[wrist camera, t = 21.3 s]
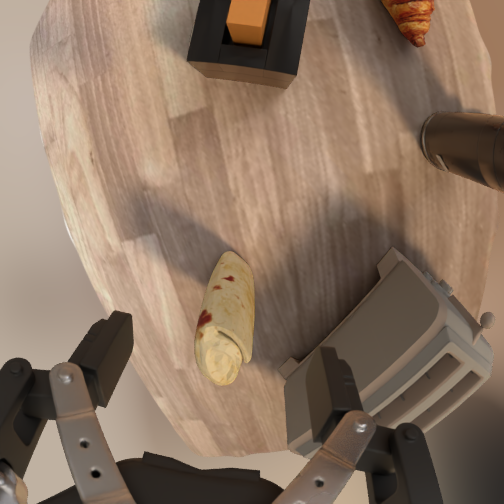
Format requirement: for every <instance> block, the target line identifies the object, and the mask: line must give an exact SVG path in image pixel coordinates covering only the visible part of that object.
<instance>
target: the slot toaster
mask: <svg viewBox="0 0 504 504" xmlns="http://www.w3.org/2000/svg"><path fill="white" fill-rule="evenodd" d="M230 4H231V0H200V3H199V7H198V11H197V15H196V19H195V24H193V28H192V32H191V37H190V47H189V51H188V56H187V62H189V63H190V64H191V65H192V66H194V67H195V68H196V69H197V70H199V71H200V72H201V73H202V74H203V75H204V76H206V77H207V78H217V79H226V80H234V81H241V82H248V83H255V84H261V85H267V86H273V87H278V88H283V89H287V88H288V86H289V85H290V84H291V82H292V81H293V80H294V78H295V77H296V75H297V71H298V65H299V60H300V54H301V49H302V43H303V38H304V32H305V27H306V21H307V15H308V10H309V4H310V0H272V4H271V9H270V14H269V18H268V23H267V28H266V33H265V38H264V42H263V47H262V49H258V48H251V47H243V46H235V45H234V43H233V40H232V37H231V35H230V32H229V29H228V26H227V23H226V21H227V17H228V12H229V8H230Z"/></svg>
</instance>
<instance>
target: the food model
mask: <svg viewBox="0 0 504 504" xmlns="http://www.w3.org/2000/svg"><path fill="white" fill-rule="evenodd" d="M254 318H255V299H254V278H253V274H252V272H251V269H250V267H249V265H248V264H247V263H246V262H245V261H244V260H243V259H242V258H241V257H239V256H238V255H237V254H235V253H234V252H231V251H228V252H225V253H224V254H223V255H222V256H221V258H220V259H219V261H218V263H217V265H216V267H215V269H214V271H213V273H212V275H211V277H210V280H209V283H208V286H207V289H206V292H205V296H204V299H203V303H202V307H201V311H200V315H199V320H198V324H197V329H196V334H195V340H194V351H195V358H196V363H197V365H198V367H199V369H200V371H201V373H202V374H203V375H204V376H205V377H207V378H208V379H209V380H210V381H211V382H213V383H214V384H217V385H220V386H224V385H228V384H230V383H232V382H233V381H234V379H235V378H236V376H237V374H238V371H239V368H240V365H241V363H242V360H243V358H244V362H245V363H248V362H249V361H250V359H251V355H252V347H253V331H254Z"/></svg>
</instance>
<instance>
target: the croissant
mask: <svg viewBox="0 0 504 504" xmlns="http://www.w3.org/2000/svg"><path fill="white" fill-rule="evenodd" d="M381 1H382V3H383V5H384V6H385V7H386V9H387V10H388V11H389V13H390V15H391V16H392V18H393V19H394V21H395V23H396V24H397V25H398V28H399V30H400V32H401V33H402V34H403V35H404V36H405V37H406V38H407V39H408V40H409V41H410V42H411V43H412V44H413V45H414V46H416V47H421V46H424V45H425V41H424V35H425V34H426V33H427V32H428V30H429V28H430V22H429V21H430V20H431V19H430V14H432V12H433V10H435V8H434V0H381Z"/></svg>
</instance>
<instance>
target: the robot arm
mask: <svg viewBox="0 0 504 504" xmlns="http://www.w3.org/2000/svg"><path fill="white" fill-rule="evenodd" d="M421 144H422V149H423V152H424V154H425V156H426V158H427V160H428V161H429V162H430V163H431V164H432V165H433V166H434V167H436V168H438V169H440V170H443V171H446V172H451V173H453V174H456V175H459V176H462V177H464V178H467V179H470V180H472V181H475V182H477V183H480V184H483V185H485V186H487V187H490V188H492V189H495V190H497V191H500V192H502V193H504V116H498V115H491V114H481V113H463V112H454V113H453V112H436V113H434V114H432V115H431V116H430V117H429V118H428V119H427V120H426V122H425V123H424V126H423V128H422V133H421ZM133 344H134V339H133V324H132V315H131V314H129V313H125V312H120V311H116V310H115V311H113V313H112V314H111V315H110V317H109V319H108V320H104V319H101V320H100V321H98V322H96V323H95V324H93V325H92V327H91V328H90V330H89V331H88V334H86V335H85V337H84V338H83V340H82V341H81V343H80V344H79V346H78V347H77V348H76V350H75V351H74V353H73V354H72V356H71V357H70V359H69V360H68V362H63V363H59V364H57V365H55V366H54V367H53V368H52V369H51V370H37V369H32V367H31V364H30V363H29V362H28V361H27V360H26V359H23V358H14V359H11V360H9V361H7V362H6V363H5V364H4V366H3V367H2V369H1V370H0V504H27V496H28V489H27V487H26V484H25V483H24V482H23V477H24V474H25V472H26V469H27V467H28V464H29V462H30V459H31V457H32V455H33V452H34V450H35V447H36V445H37V443H38V440H39V438H40V436H41V433H42V431H43V429H44V427H45V425H46V423H47V420H48V419H49V420H56V424H57V428H58V431H59V435H60V439H61V442H62V446H63V449H64V453H65V456H66V459H67V462H68V465H69V468H70V471H71V474H72V477H73V479H74V482H75V485H74V486H72V487H70V488H68V489H66V490H64V491H62V492H60V493H58V494H56V495H54V496H52V497H50V498H48V499H46V500H44V501H41V502H39V503H37V504H332V503H333V502H334V501H335V499H336V498H337V496H338V495H339V494H340V492H341V490H342V489H343V488H344V486H345V485H346V483H347V482H348V480H349V479H350V477H351V476H352V474H353V472H354V471H355V470H359V471H364V472H365V475H366V482H367V489H368V497H369V504H443V500H442V496H441V492H440V488H439V484H438V481H437V477H436V473H435V470H434V466H433V463H432V459H431V457H430V453H429V449H428V447H427V443H426V440H425V437H424V434H423V432H422V430H421V429H420V428H419V427H418V426H416V425H415V424H412V423H408V422H405V423H401V424H399V425H398V426H397V427H396V429H392V428H388V427H384V426H380V425H377V424H376V422H375V420H374V419H373V418H372V416H370V415H369V414H368V413H366V412H364V410H363V406H362V403H361V400H360V396H359V393H358V389H357V386H356V383H355V379H354V378H353V377H354V376H353V373H352V369H351V367H350V366H349V365H348V363H347V362H346V361H345V360H344V359H338V356H337V352H336V349H335V347H329V346H317V347H316V349H315V351H314V354H313V356H312V359H311V361H310V364H309V366H308V369H307V372H306V378H305V384H306V391H307V398H308V406H309V414H310V421H311V429H312V437H313V443H322V447H320V449H319V450H318V451H317V452H316V453H315V455H314V456H313V457H312V458H311V460H310V461H309V462H308V463H307V465H306V466H305V467H304V468H303V469H302V471H301V472H300V473H299V474H298V475H297V476H296V478H295V479H294V480H293V481H292V482H291V483H290V484H289V485H288V487H287V488H286V489H285V490H284V489H282V488H281V487H279V486H278V485H276V484H275V483H273V482H271V481H268V480H266V479H263V478H260V470H249V469H239V468H222V469H209V470H201V469H197V468H195V467H192V466H190V465H187V464H185V463H183V462H180V461H178V460H176V459H173V458H170V457H166V456H162V455H157V454H153V453H149V452H144V454H143V458H131V459H125V460H121V461H118V462H116V463H115V460H114V458H113V456H112V454H111V451H110V449H109V447H108V444H107V442H106V439H105V437H104V434H103V432H102V429H101V426H100V424H99V421H98V418H97V416H96V413H95V410H96V408H97V406H101V407H104V408H106V407H107V405H108V402H109V400H110V398H111V395H112V394H113V391H114V389H115V387H116V385H117V383H118V381H119V378H120V376H121V374H122V372H123V370H124V368H125V366H126V364H127V362H128V360H129V358H130V355H131V353H132V350H133Z"/></svg>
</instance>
